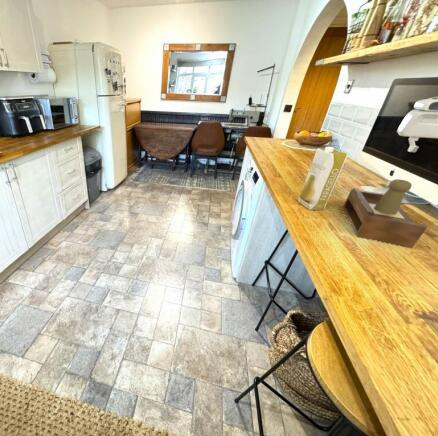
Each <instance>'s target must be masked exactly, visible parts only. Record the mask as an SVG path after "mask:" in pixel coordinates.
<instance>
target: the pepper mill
mask: <svg viewBox="0 0 438 436" xmlns="http://www.w3.org/2000/svg"><path fill="white" fill-rule="evenodd" d="M412 185H413V184H412V182H410V181H408V180H405V179H399V178H397V179H396V178H395V179H392V180H391V181H390V182H389V184H388V189H387V190H386V192H385V193H383V194H384V196H383V197H382V198H381V199H380V201H379V202H378V203H377V204H376V206H375V207H374V209H375V210H377V211H379V212H381V213H385V214H390V215H395V214H397V212H398V209H399V207H401V204H402V202H403V199H404V198H405V195H406V193H407V192H409V191H410V190H411V188H412Z"/></svg>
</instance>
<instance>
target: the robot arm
mask: <svg viewBox="0 0 438 436" xmlns="http://www.w3.org/2000/svg"><path fill="white" fill-rule="evenodd" d="M413 108H414V109H412V110H410V111H409V112H407V114H406V115H405V116H404V118H403V119H402V121H401V123H400V124H399V126H398V128H397V130H396V133H397V134H398V135H399V136H401V137H409V138H408V144H409V147H408V148H407V152H409V153H416V152H417V151H418V149H419V148H420V147H419V146H418V145H416V142H417V141H419V139H420V138H424V139H425V138H427V139H438V96H434V97H430V98H425V99H419V100H417V101H416V102H415V103H414V105H413Z"/></svg>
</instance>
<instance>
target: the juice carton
mask: <svg viewBox="0 0 438 436" xmlns="http://www.w3.org/2000/svg"><path fill="white" fill-rule="evenodd" d="M348 157H349V153H348V152H344V151H340V150H337V149H335V147H332V146H326V147H321V148H319V147H318V148H317V149H316V151H315V153H314V156H313V159H312V162H311V164H310V167H309V170H308V173H307V176H306V178H305V180H304V184H303V186H302V188H301V191H300V193H299V197H298V201H297V202H298V203H299V204H300V205H302V206H303V207H305V208H306V209H307V210H309V211H319V210H320V211H321V210H324V209H325V208H326V206H327V205H328V202H329V200H330V198H331V196H332V194H333V191H334V189H335V187H336V184H337V182H338V179H339V177H340V175H341V172H342V170H343V168H344V166H345V164H346V161H347V160H348V159H347V158H348ZM344 163H345V164H344Z"/></svg>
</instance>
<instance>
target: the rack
mask: <svg viewBox="0 0 438 436" xmlns="http://www.w3.org/2000/svg"><path fill="white" fill-rule="evenodd" d="M384 194H385V193H381V192H373V191H369V190H368V191H367V190H361V189H360V188H357V187H356V188H355V187H353V188H351V190H350V191H349V193H348V196H347V198H346V200H345V202H344V204H343V206H342V208H343V210H344V211H345V214H346V216H347V218H348V220H349V223H350V225H351V227H352V229H353V231H354V234H355V235H357V236H356V238H360V237H361V238H360V239H364V238H366V240H369V239H372V240H371V241H374V240H377V241H376V242H379V241H381V242H380V243H384V242H386V243H385V244H388V243H391V244H390V245H393V244H396V245H395V246H398V245H400V246H399V247H402V248H408V249H413V248H414V246H415V245H416V243H417V242H419V240H420V238H421V236H422V235H423V234H424V232H426V230H427V228H428V226H427V225H426V224H423V223H419V222H414V220H413V219H412V218H411V217H410V216H409V214H407V213H406V211H404V210H403V208H401V206H400V207H399V209H398V212H397V214H395V215H390V214H385V213H381V212H379V211H377V210H375V209H374V207H375V206H376V204H377V203H378V202H379V201H380V199H381V198H382V197H383V196H384Z"/></svg>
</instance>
